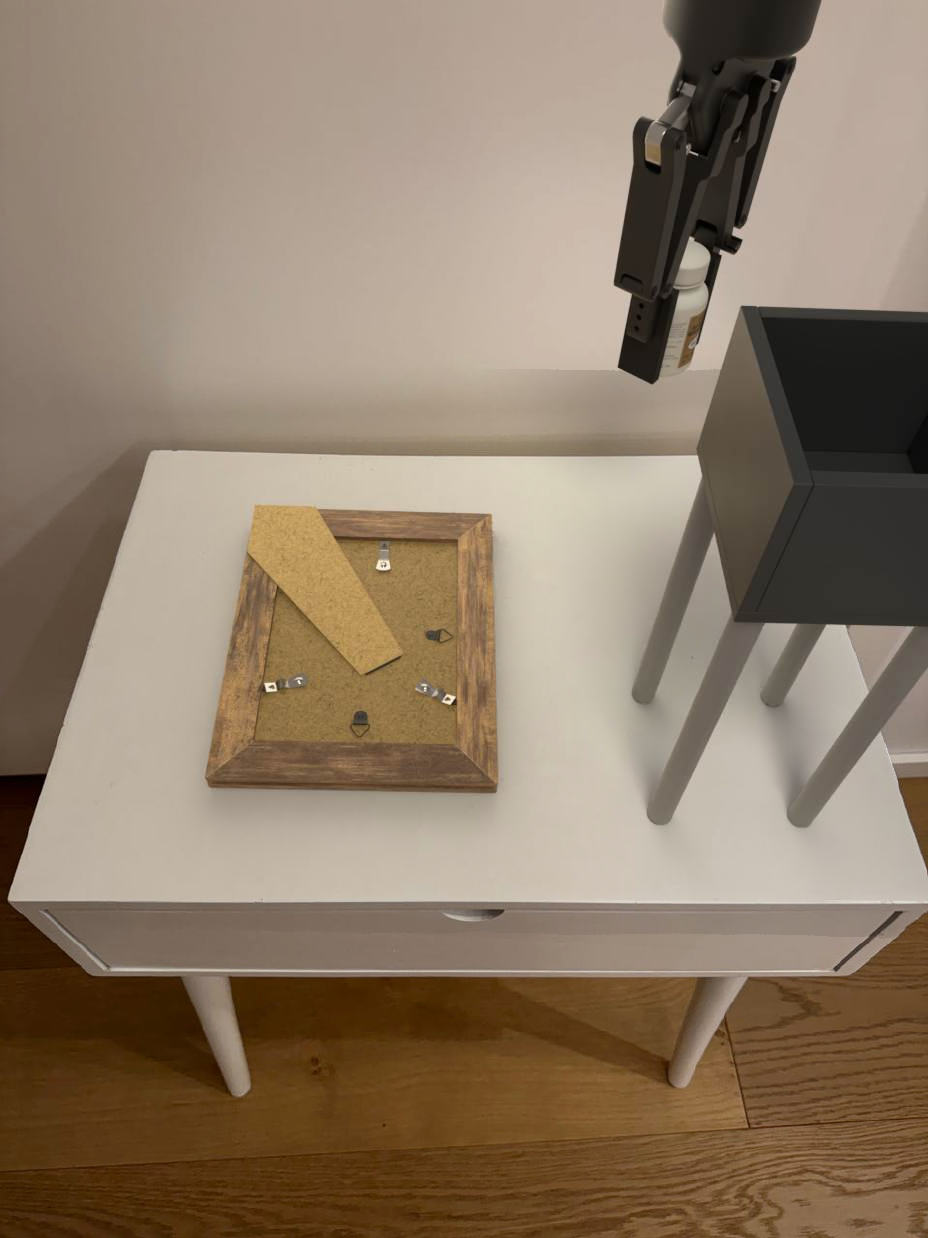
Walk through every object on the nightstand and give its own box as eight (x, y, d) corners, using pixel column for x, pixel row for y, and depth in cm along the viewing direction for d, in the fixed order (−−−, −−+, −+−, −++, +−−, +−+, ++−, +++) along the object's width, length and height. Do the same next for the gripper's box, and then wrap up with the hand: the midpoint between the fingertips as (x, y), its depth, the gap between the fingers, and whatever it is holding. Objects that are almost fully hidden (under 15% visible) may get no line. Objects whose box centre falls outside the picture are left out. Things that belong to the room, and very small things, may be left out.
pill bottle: (695, 380, 63) (725, 273, 56) (629, 378, 62) (651, 271, 56) (685, 339, 65) (712, 233, 59) (621, 338, 65) (642, 231, 59)
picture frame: (257, 520, 76) (208, 789, 62) (254, 504, 74) (203, 775, 60) (490, 527, 77) (496, 794, 62) (492, 511, 75) (498, 781, 61)
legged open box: (785, 683, 68) (989, 313, 44) (822, 834, 61) (1090, 492, 37) (624, 680, 68) (740, 304, 44) (642, 831, 61) (794, 484, 37)
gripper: (769, -114, 51) (677, 278, 69) (584, -29, 42) (535, 394, 61) (902, -80, 48) (770, 319, 67) (734, 19, 40) (635, 446, 58)
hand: (658, 354), depth 64 cm, fingers closed on pill bottle, 4 cm apart
